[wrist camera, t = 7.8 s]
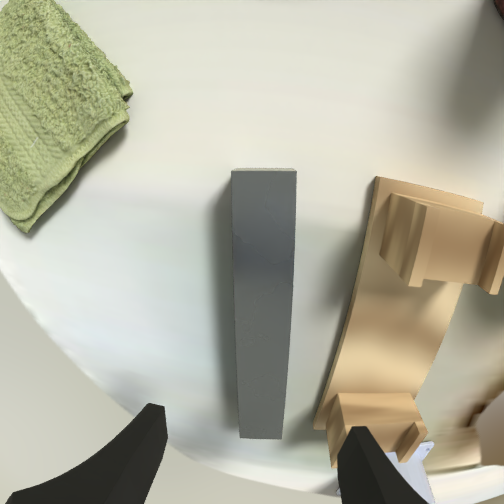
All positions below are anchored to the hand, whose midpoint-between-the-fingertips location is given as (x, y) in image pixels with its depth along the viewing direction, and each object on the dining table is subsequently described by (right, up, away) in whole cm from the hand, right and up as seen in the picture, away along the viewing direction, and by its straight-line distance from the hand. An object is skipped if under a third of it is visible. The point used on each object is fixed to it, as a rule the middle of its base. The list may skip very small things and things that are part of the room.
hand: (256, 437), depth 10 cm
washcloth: (-16, +19, +6) cm, 25 cm away
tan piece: (+9, +2, +9) cm, 13 cm away
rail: (+1, +3, +9) cm, 10 cm away
